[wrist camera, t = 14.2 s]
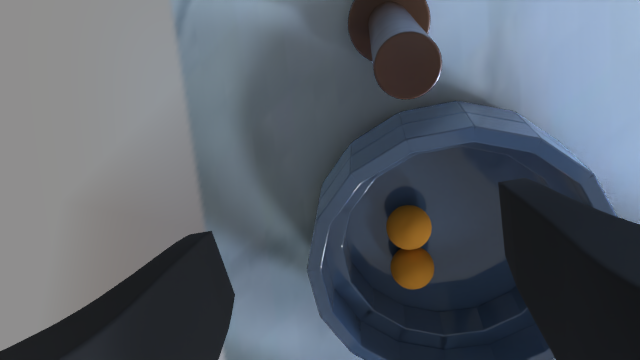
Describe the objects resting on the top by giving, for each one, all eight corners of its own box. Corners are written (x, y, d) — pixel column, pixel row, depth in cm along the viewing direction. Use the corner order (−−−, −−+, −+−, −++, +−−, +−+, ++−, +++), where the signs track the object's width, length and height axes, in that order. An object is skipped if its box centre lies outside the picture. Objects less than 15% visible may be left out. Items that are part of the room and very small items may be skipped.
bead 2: (407, 291, 21) (420, 246, 22) (376, 279, 23) (388, 238, 23) (436, 297, 23) (447, 255, 23) (404, 285, 24) (415, 246, 24)
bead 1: (372, 240, 22) (390, 231, 24) (411, 263, 21) (427, 251, 23) (388, 201, 21) (406, 194, 23) (429, 222, 20) (444, 214, 22)
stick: (435, -17, 19) (492, 1, 11) (420, 65, 20) (461, 138, 12) (353, -26, 19) (348, -14, 11) (343, 56, 21) (332, 123, 12)
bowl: (575, 72, 20) (622, 97, 16) (581, 308, 25) (619, 368, 21) (289, 129, 22) (276, 163, 18) (345, 338, 27) (343, 398, 23)
